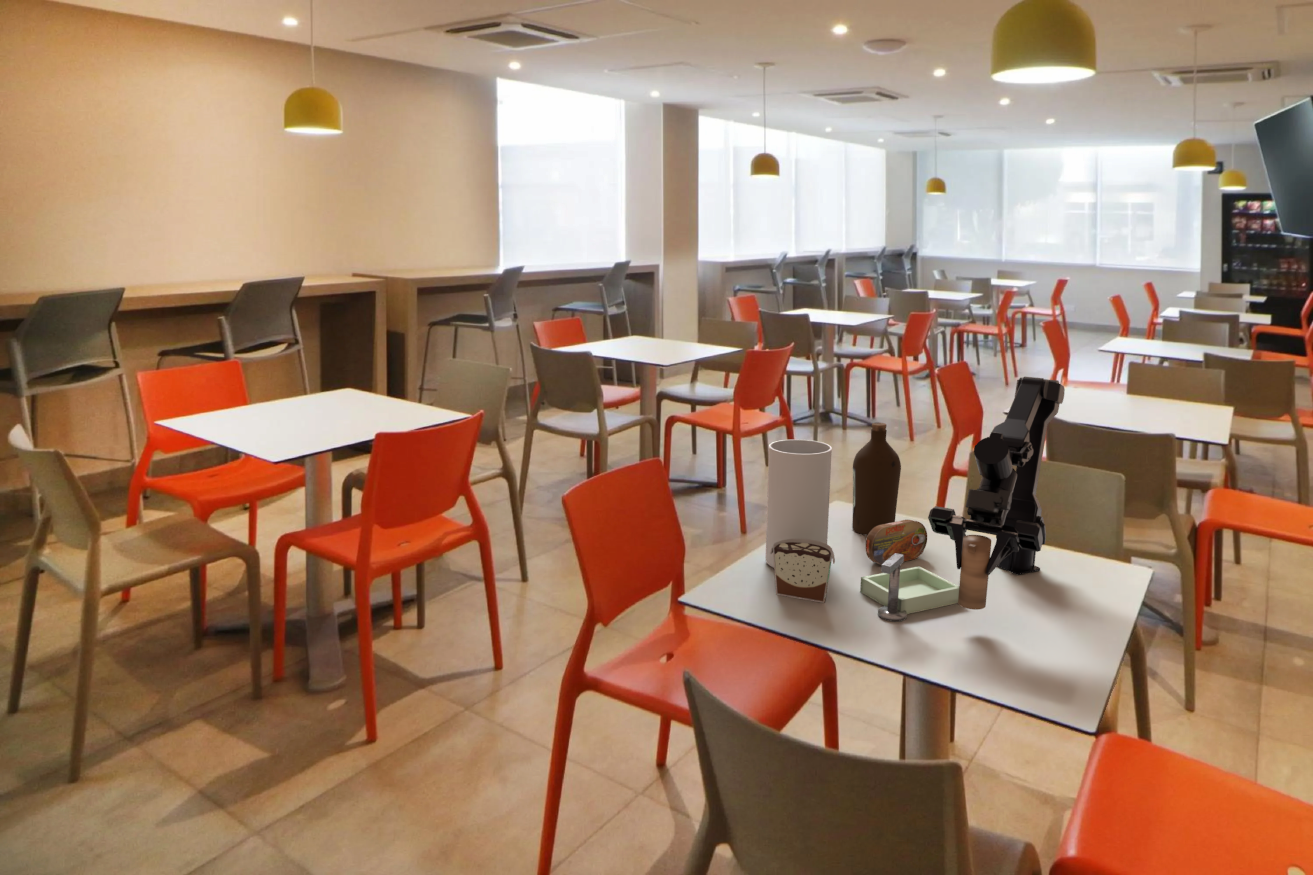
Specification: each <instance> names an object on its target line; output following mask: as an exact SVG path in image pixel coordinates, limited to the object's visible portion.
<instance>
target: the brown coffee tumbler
mask: <svg viewBox="0 0 1313 875" xmlns="http://www.w3.org/2000/svg"><path fill="white" fill-rule="evenodd" d="M991 550H992V539H991V538H990V537H988V536H985V535H980V534H966V536H964V537H963V548H962V560H961V568H960V574H959V575H960V576H959V585H958V586H959V597H958V603H957V604H958V605H959V606H960V607H962V608H964V609H969V610H977V611H978V610H983V609H985V608H986V606H987V605H986V604H987V594H988V585H989V584H988V582H989V575H987V574H986V570H987V565H988V562H989V560H990V557H991V553H992V552H991Z"/></svg>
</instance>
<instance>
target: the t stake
mask: <svg viewBox="0 0 1313 875" xmlns="http://www.w3.org/2000/svg"><path fill="white" fill-rule="evenodd" d="M904 562H905V561H904V555H902V554H897V553H895V554H894V555H892V556H891V557H890V558H889V559H888V560H886V561H885V562H884V563H883V564H882V565H880V566H881V568H880V573H887V574H889V590H888V606H884V605H883V606H881V607H879V608H878V609H877V616H878V617H879V618H880V619H882V620H884V621H887V622H902V621H904V620H906V619H907V615H908V614H907V612H906V611H905V610H904V611H900V610H898V596H899V581H900V570H901V565H902V564H903V563H904Z"/></svg>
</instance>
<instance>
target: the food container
mask: <svg viewBox="0 0 1313 875" xmlns="http://www.w3.org/2000/svg"><path fill="white" fill-rule="evenodd" d="M772 553H773V556H774V568H773V569H774V581H775V593H776V594H775V595H777V596H783V597H788V598H793V599H799V600H804V601H805V600H806V601H811V602H812V601H813V602H818V603H822V604H824V603H826V599H827V593H828V592H827V591H828V585H829V581H830V580H829V578H830V572H831V566H832V565H831V564H833V565H835V563H836V558H835V553H834V550H833V547H831V546H830V545H828V543H827V544H825V543H823V542H820V541H816V540H810V539H785V540H781V541H778V542H776V543H774V544H773V547H772V548H771V552H770V554H772Z"/></svg>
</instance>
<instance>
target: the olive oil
mask: <svg viewBox="0 0 1313 875" xmlns="http://www.w3.org/2000/svg"><path fill="white" fill-rule="evenodd" d="M887 433H888V432H887V424H886V423H884V422H872V424H871V428H870V440H869V441H868V442H867V443H865V445H864V446H863V447H861V448H860V449H859V450H858V451H857V453H856V454H855V456H854V458H853V461H852V524H851V525H852V530H853V531H854V532H856V533H857V534H861V535H863V536H868V534H869V532H870V531H871V530H872V529H873V528H874V527H876V526H878V525H882V524H887V523H892V522H896V514H897V505H898V504H897V503H898V494H899V487H900V479H901V472H902V471H901V470H902V463H901V459H900V457H899V454H898V453H897V452H896V450H895V449H894V448H893V447H892V446H891V445H890V444H889V442H888V441H887Z"/></svg>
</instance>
